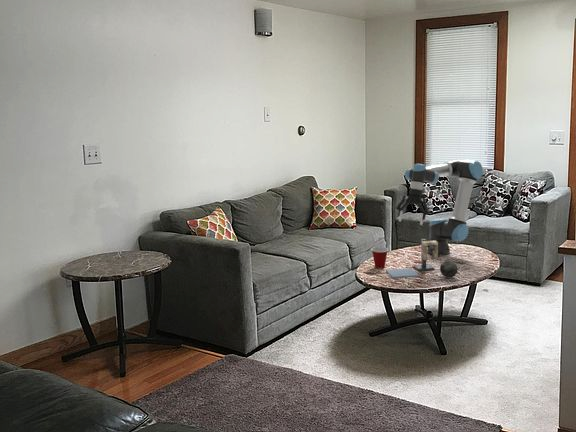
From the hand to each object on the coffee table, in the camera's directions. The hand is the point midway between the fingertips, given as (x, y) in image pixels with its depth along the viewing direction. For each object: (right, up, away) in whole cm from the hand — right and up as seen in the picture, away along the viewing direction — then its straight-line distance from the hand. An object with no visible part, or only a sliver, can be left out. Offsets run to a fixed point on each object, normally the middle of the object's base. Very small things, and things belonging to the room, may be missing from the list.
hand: (410, 223), depth 387 cm
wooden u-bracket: (+9, -21, -13) cm, 26 cm away
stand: (+9, -29, -6) cm, 31 cm away
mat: (-7, -30, -10) cm, 33 cm away
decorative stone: (+18, -31, -21) cm, 42 cm away
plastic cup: (-17, -28, +8) cm, 34 cm away
